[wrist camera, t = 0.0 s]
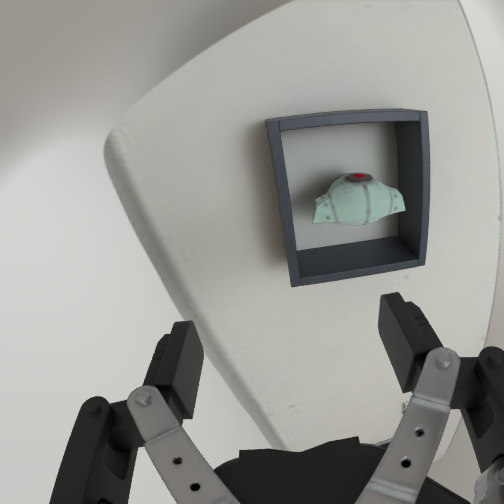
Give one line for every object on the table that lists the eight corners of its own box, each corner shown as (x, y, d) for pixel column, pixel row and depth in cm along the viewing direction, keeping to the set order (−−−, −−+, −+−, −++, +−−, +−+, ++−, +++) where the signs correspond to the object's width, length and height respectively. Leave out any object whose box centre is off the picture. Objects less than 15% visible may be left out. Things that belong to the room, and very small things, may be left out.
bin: (265, 119, 24) (266, 121, 20) (401, 108, 23) (427, 111, 19) (286, 259, 30) (291, 287, 26) (404, 241, 29) (425, 265, 25)
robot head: (305, 211, 28) (317, 242, 22) (299, 168, 26) (311, 188, 20) (385, 200, 27) (415, 227, 21) (383, 159, 25) (416, 176, 19)
